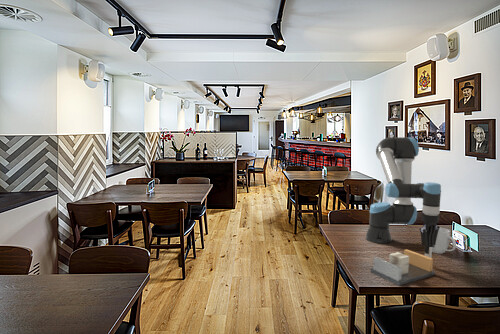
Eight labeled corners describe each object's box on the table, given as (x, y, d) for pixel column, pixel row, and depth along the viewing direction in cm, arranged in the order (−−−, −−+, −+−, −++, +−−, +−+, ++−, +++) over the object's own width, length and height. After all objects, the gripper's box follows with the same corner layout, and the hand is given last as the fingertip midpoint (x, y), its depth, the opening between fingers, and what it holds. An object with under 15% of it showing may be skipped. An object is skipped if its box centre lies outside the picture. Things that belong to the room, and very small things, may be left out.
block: (388, 270, 154) (389, 254, 153) (397, 267, 156) (398, 252, 156) (399, 275, 148) (400, 258, 148) (408, 272, 151) (409, 256, 150)
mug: (459, 254, 178) (461, 232, 176) (449, 259, 172) (451, 235, 170) (432, 247, 190) (433, 225, 189) (422, 250, 184) (423, 228, 183)
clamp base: (370, 272, 155) (371, 257, 154) (404, 262, 167) (405, 248, 166) (399, 285, 141) (400, 269, 140) (434, 274, 153) (435, 259, 152)
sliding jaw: (403, 261, 164) (404, 249, 164) (406, 260, 165) (406, 249, 165) (429, 271, 152) (430, 259, 151) (432, 270, 153) (432, 258, 152)
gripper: (431, 210, 166) (428, 254, 168) (415, 213, 160) (412, 259, 162) (446, 214, 159) (443, 259, 162) (429, 217, 153) (426, 264, 156)
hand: (427, 259), depth 162 cm, fingers closed
